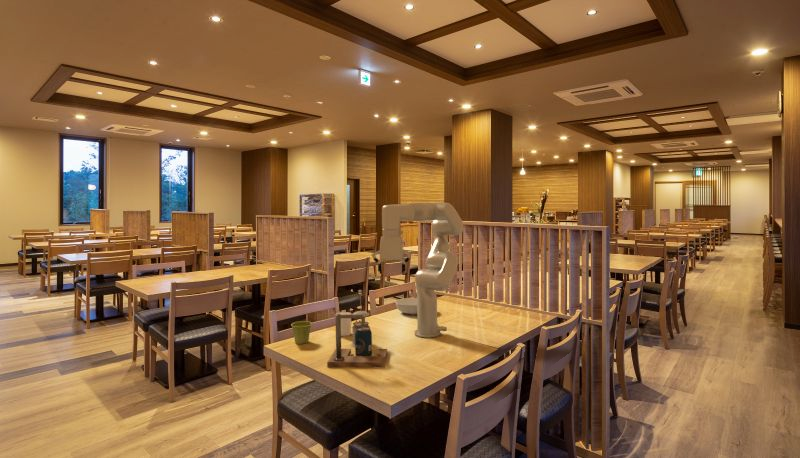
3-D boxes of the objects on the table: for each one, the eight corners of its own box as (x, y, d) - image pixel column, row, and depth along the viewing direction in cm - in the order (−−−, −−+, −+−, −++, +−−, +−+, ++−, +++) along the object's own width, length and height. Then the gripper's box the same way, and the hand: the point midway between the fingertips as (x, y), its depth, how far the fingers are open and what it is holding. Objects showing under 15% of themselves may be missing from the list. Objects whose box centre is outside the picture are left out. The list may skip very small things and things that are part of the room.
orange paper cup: (348, 336, 208) (348, 316, 208) (333, 336, 210) (332, 315, 209) (353, 332, 216) (353, 312, 215) (338, 331, 217) (338, 311, 217)
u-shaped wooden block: (387, 353, 183) (387, 348, 183) (383, 367, 167) (383, 362, 167) (335, 353, 185) (335, 348, 185) (327, 367, 169) (327, 362, 169)
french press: (374, 341, 200) (373, 287, 198) (367, 350, 188) (366, 292, 187) (354, 340, 202) (353, 287, 200) (346, 348, 190) (344, 292, 189)
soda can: (351, 358, 178) (351, 329, 178) (362, 353, 184) (361, 325, 184) (365, 361, 175) (364, 331, 174) (375, 356, 181) (374, 327, 180)
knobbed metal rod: (366, 357, 173) (365, 313, 172) (364, 361, 169) (363, 315, 168) (335, 357, 173) (333, 313, 173) (332, 361, 169) (331, 315, 169)
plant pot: (316, 340, 204) (315, 321, 203) (305, 346, 195) (304, 327, 194) (298, 338, 207) (298, 320, 206) (287, 344, 198) (287, 325, 197)
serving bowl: (432, 317, 243) (432, 305, 243) (395, 317, 243) (395, 305, 243) (430, 308, 264) (430, 297, 263) (396, 308, 264) (395, 297, 264)
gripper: (411, 232, 190) (412, 271, 191) (372, 233, 191) (373, 271, 192) (410, 233, 182) (411, 274, 183) (370, 234, 183) (370, 274, 184)
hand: (391, 273), depth 187 cm, fingers open, 9 cm apart
